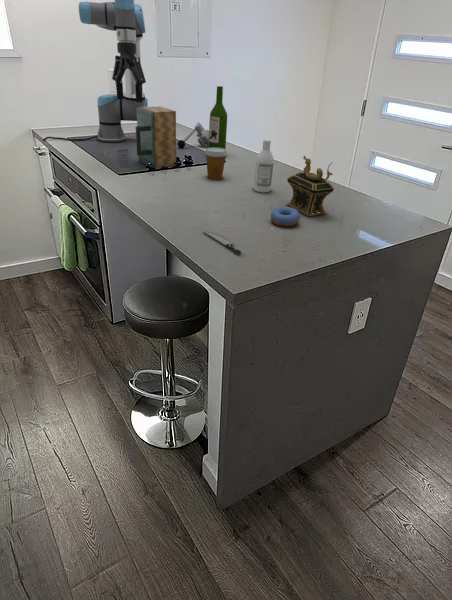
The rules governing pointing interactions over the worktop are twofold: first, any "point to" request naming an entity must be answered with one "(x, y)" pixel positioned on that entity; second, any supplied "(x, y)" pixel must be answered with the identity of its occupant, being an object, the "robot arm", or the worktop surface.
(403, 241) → the worktop surface
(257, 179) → the bath foam
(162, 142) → the cabinet
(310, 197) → the decorative box
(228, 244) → the chef's knife
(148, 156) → the door
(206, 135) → the mechanical valve
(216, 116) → the wine bottle
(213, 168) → the disposable coffee cup
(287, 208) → the doughnut
